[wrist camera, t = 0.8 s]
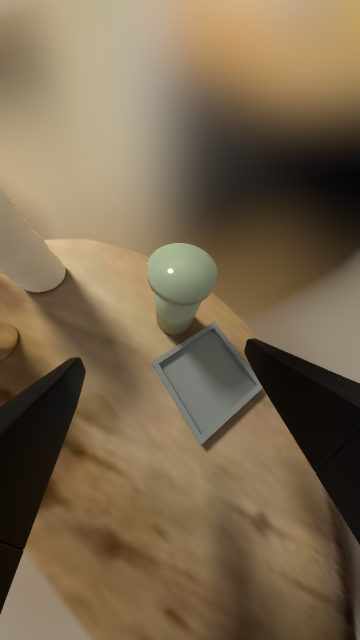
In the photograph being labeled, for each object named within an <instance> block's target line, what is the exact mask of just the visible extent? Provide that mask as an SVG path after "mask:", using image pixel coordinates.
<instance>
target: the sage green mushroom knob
mask: <svg viewBox="0 0 360 640" xmlns="http://www.w3.org/2000/svg"><path fill="white" fill-rule="evenodd" d="M147 276H148V281H149V285H150V287H151V289H152V290H153V292H154V294H155V306H156V317H157V324H158V326H159V328H160V329H161V330H162V331H163V332H165V333H166V334H169V335H180V334H182V333H184V332H186V331H187V330H188V329H189V327H190V325H191V323H192V321H193V319H194V316H195V314H196V312H197V310H198V308H199V306H200V304H201V301H203V300H204V299H206V298H207V297H208V296H209V295H210V293H211V292H212V290H213V288H214V286H215V284H216V282H217V277H218V272H217V267H216V265H215V262H214V261H213V259H212V258H211V257H210V256H209V255H208V254H207V253H206V252H205V251H203V250H202V249H200V248H198V247H196V246H193V245H190V244H184V243H174V244H168V245H165V246H163V247H161V248H159V249H157V250H156V251H155V252H154V253H153V254H152V255H151V257H150V258H149V261H148V264H147Z"/></svg>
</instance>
